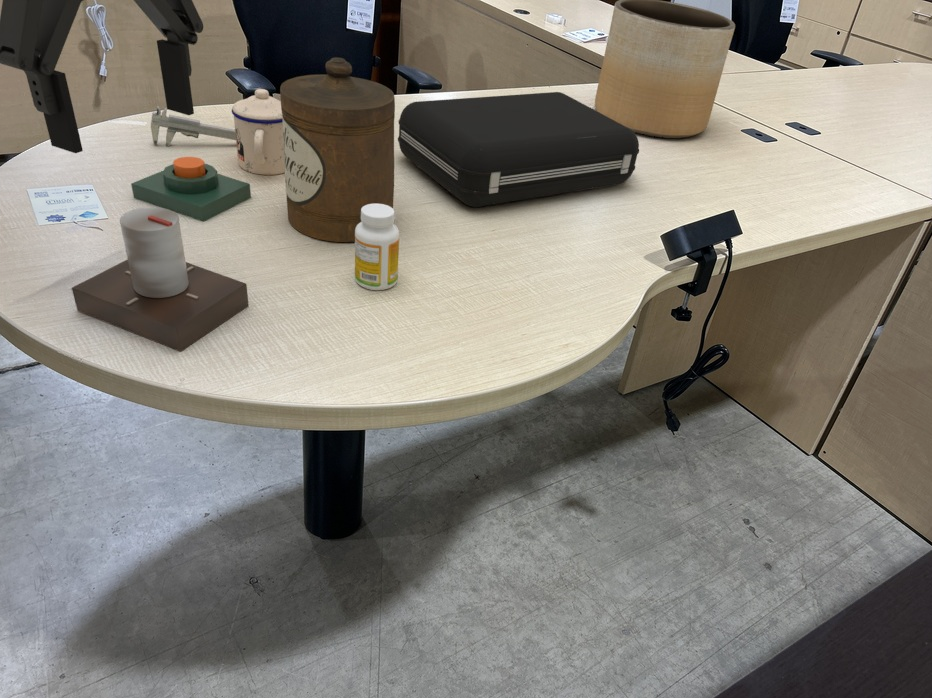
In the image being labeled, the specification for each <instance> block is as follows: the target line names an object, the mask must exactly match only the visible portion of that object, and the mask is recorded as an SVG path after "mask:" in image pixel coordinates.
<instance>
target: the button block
mask: <svg viewBox="0 0 932 698" xmlns="http://www.w3.org/2000/svg"><path fill="white" fill-rule="evenodd" d="M204 164H205V172H206V174H205V175H204V176H202V177H197V178H181V177H178V176H176V175H175V171H174V165H173V163H172V164H170V165H167V166H165V167H164V169H163V170H161V171H158V172H156V173H153V174H151V175H149V176H147V177H144V178H141V179H139V180H136V181H134V182H131V183H130V185H131V191H132V195H133V198H134V199H136V200H139V201H142V202H143V203H144V202H145V203H147V204H150V205H154V206H155V207H158V208H164V209H168V210H171V211H173V212H175V213H176V214H179V215H183V216H186V217H188V218H192V219H194V220H197V221H200V222H206V221H208V220H210V219H212V218H214V217H215V216H216V217H217V215H220V214H221V213H224V212H225V211H228V210H230V209H231V208H234V207H235V206H237V205H240V204H242V203H244V202H246V201H247V200H249V199H251V198H252V193H251V184H250V183H248V182H245V181H242V180H240V179H236V178H232V177H229V176H226V175H223V174H220V173H218V170H217V169H216V168H215V167H214V166H213V165H210V164H208V163H204Z"/></svg>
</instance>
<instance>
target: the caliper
mask: <svg viewBox="0 0 932 698" xmlns="http://www.w3.org/2000/svg"><path fill="white" fill-rule="evenodd" d="M167 111H168V109H167V107H165V108H164V109H163V110H162V111H161V108H160V106H159V105H157V107H156V112H155V111H152V114H151V121H150V131H151V137H152V142H153V143H152V144H153V145H155V146H158V140H159V134H160V127H161V128H166V135H165V147H170V145H171V144H172V142H173V140H174V137H175V136H176V134H177V133H180V134H182V135H183V136H185V137H192V138H195V139H198V138H199V135H205V136H210V137H216V138H220V139H221V138H222V139H225V140H233V141H236V133H235V128H229V127H223V126H218V125H213V124H207V123H201V120H199V119H195V118H190V117H184V116H180V115H175V114H168V116H167Z"/></svg>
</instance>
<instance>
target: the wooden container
mask: <svg viewBox="0 0 932 698" xmlns="http://www.w3.org/2000/svg"><path fill="white" fill-rule="evenodd" d="M324 69H325V72H326V73H327V74H307V75H300V76H295V77H293V78H289V79H286V80H285V81H283V82H282V83H281V85H280V89H279V92H280V93H279V95H280V96H279V97H280V101H281V110H282V114H283V115H282V119H283V141H284V168H285V173H284V183H285V194H286V208H287V210H286V211H287V217H288V218H287V220H288V222H289V224H290V226H291V227H293V228H294V229H295V230H296V231H298V232H299V233H301V234H303V235H305V236H307V237H310V238H314V239H316V240H322V241H326V242H334V243H335V242H336V243H353V242H354V243H355V228H356V226H357V225H358V224H359V223H360V222H361V208H362V207H363V206H365V205H368V204H384V205H388V206H390V207H391V208H393V209H394V197H395V195H394V194H395V115H396V114H395V113H396V101H395V94H394V92H393V90H392V89H390V88H389V87H387V86H386V85H383V84H381V83H379V82H376V81H373V80H369V79H366V78H360V77H355V76H351V75H352V73H353V67H352V64H351V63H350V62H348V61H346V59H345V58H343V57H336V56H335V57H332V58H330V59H329V60H328V61H326V62H325V68H324Z"/></svg>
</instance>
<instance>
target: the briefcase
mask: <svg viewBox="0 0 932 698" xmlns="http://www.w3.org/2000/svg"><path fill="white" fill-rule="evenodd" d="M397 123H398V127H399V128H398V137H397V142H398V145H399V146H398V147H399V149H400V151H401V153H402V155H403V156H404V157H405V158H406V159H407V160H408V161H410V162H411V163H412V164H414V165H415V166H416V167H417V168H418V169H420V170H421V171H422V172H423V173H425V174H426V175H428V176H429V178H431V179H433V180H434V181H435V182H436V183H438V184H439V185H440V186H441V187H443V188H444V189H445V190H447V191H448V192H449V193H450V194H452V195H453V197H455V198H457V199H458V200H459V201H460V202H462V203H463V204H464V205H466V206H470V207H474V208H479V207H484V206H485V207H486V206H491V205H492V206H493V205H499V204H504V203H510V202H517V201H523V200H529V199H536V198H542V197H548V196H555V195H560V194H566V193H567V194H568V193H572V192H579V191H584V190H591V189H598V188H605V187H609V186H610V187H611V186H617V185H621V184H624V183H625V182H627V181H628V179H630V178H631V176H632V175H633V173H634V171H635V170H636V162H637V158H638V155H639V154H640V142H639V139H638V136H637V135H636V134H637V133H635V132H633V131H632V130H631V129H629V128H627V127H625V126H624V125H622V124H620V123H618V122H616V121H614V120H612V119H610V118H609V117H607V116H605V115H603V114H601V113H599V112H598V111H597V110H596V109H595V108H591V107H590V106H588V105H586V104H584V103H582V102H581V101H579V100H577V99H575V98H573V97H571V96H569V95H567V94H565V93H563V92H560V91H553V92H552V91H551V92H550V91H549V92H537V93H536V92H535V93H521V94H507V95H493V96H491V95H490V96H479V97H464V98H449V99H435V100H419V101H413V102H411V103H409V104H407V105H406V106H405V107H404V108H403V109H402V111H401V113H400V117H399V119H398V122H397Z"/></svg>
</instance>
